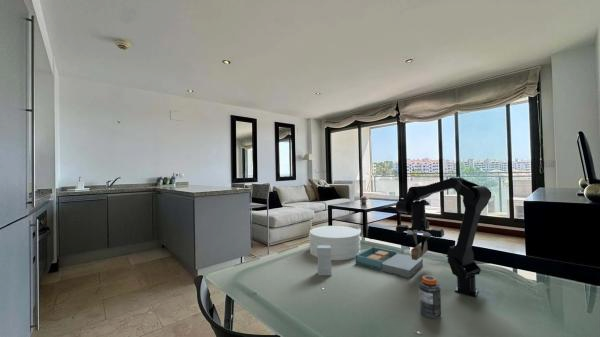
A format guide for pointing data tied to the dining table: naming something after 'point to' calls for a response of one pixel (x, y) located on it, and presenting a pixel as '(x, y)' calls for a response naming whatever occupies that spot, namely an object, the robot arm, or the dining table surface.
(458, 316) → the dining table surface
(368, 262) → the box
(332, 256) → the plate stack
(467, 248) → the robot arm
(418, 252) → the scraper bar
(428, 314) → the pill bottle
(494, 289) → the dining table surface
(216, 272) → the dining table surface
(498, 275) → the dining table surface
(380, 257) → the tile
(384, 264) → the platform
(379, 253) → the tile
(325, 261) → the skincare box
